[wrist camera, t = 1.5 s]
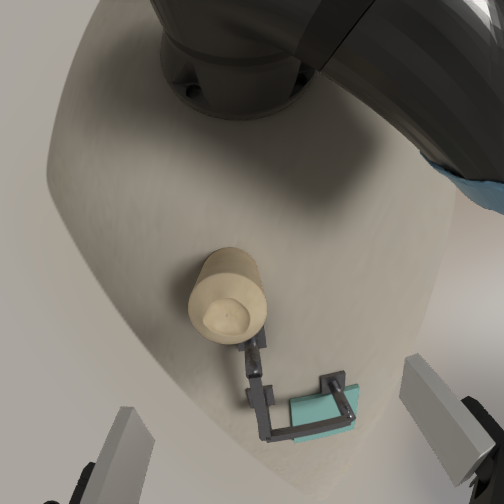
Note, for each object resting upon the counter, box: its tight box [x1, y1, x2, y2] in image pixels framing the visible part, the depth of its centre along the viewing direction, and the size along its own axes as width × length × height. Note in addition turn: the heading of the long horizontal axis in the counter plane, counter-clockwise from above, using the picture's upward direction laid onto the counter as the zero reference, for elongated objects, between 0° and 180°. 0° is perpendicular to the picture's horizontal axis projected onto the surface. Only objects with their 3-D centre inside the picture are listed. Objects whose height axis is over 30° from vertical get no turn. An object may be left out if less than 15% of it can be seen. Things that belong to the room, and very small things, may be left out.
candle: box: [188, 248, 267, 344], centre depth 22 cm, size 6×6×10 cm
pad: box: [290, 384, 359, 443], centre depth 32 cm, size 9×9×1 cm
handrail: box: [237, 325, 356, 443], centre depth 26 cm, size 12×12×8 cm
